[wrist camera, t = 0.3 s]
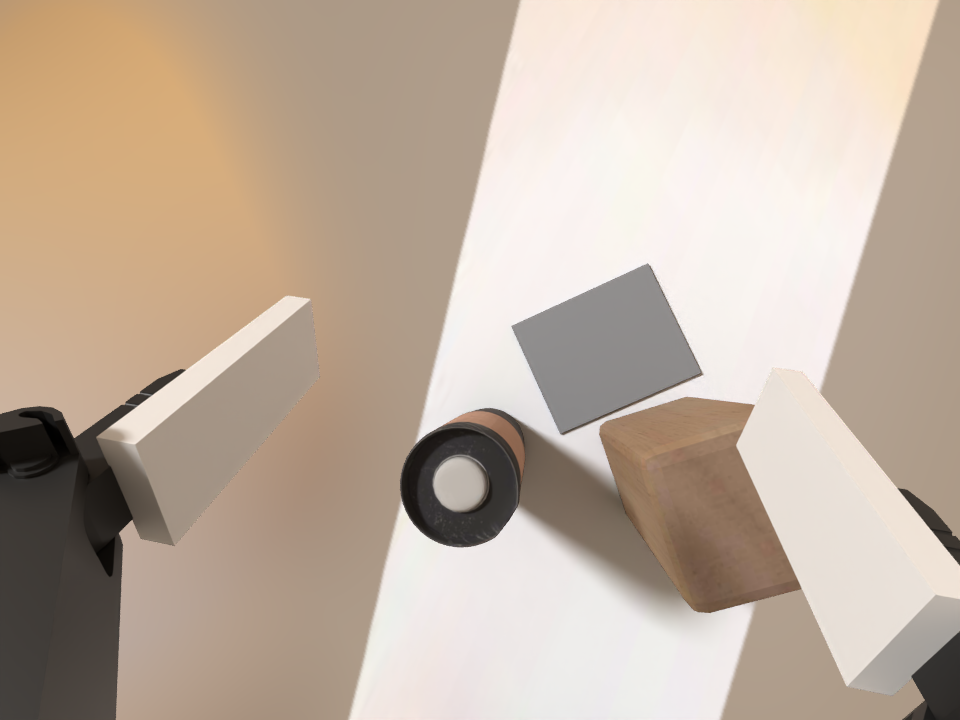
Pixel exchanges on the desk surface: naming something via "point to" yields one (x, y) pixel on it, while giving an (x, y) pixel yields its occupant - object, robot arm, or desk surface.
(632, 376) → the mat
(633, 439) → the block
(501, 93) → the desk surface
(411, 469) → the travel mug
